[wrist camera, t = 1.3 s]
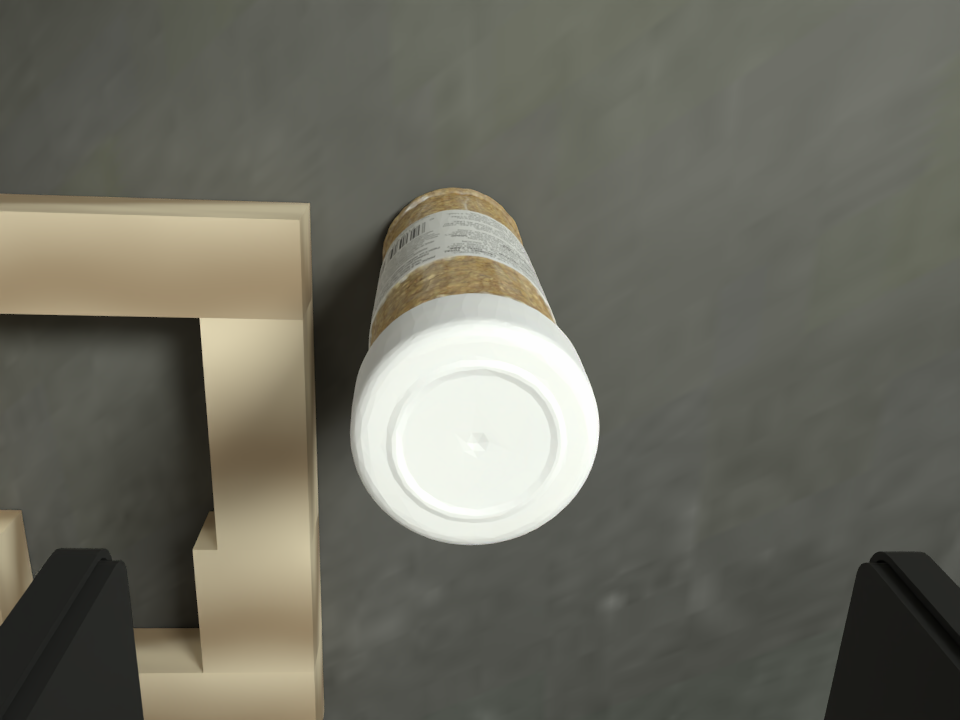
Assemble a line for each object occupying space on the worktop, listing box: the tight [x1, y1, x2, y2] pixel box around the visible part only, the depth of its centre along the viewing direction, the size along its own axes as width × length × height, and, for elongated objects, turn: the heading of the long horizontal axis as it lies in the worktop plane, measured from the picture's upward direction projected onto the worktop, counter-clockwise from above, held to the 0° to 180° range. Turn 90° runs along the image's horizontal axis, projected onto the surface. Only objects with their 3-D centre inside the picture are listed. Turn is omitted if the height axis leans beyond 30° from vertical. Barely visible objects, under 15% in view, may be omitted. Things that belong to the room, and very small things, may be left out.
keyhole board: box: [0, 194, 324, 720], centre depth 29 cm, size 20×14×2 cm
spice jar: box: [350, 188, 599, 545], centre depth 22 cm, size 5×5×14 cm
